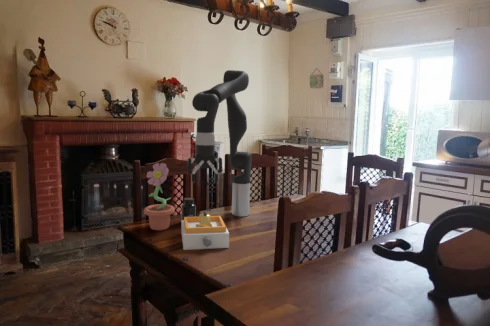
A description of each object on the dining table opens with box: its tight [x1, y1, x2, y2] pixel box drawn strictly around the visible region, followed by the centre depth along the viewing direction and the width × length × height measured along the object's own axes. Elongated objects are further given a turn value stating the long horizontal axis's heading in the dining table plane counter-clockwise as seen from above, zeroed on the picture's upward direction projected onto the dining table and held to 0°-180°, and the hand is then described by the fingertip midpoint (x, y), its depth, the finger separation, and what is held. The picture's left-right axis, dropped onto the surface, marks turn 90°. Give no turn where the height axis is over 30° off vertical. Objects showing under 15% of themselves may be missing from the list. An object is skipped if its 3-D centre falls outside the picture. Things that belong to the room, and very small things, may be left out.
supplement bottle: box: [180, 197, 197, 221], centre depth 182 cm, size 7×7×12 cm
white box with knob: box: [180, 215, 230, 251], centre depth 158 cm, size 23×18×8 cm
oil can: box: [198, 211, 211, 227], centre depth 159 cm, size 5×5×10 cm
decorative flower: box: [143, 162, 176, 231], centre depth 172 cm, size 15×14×30 cm
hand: (204, 182), depth 156 cm, fingers open, 8 cm apart
